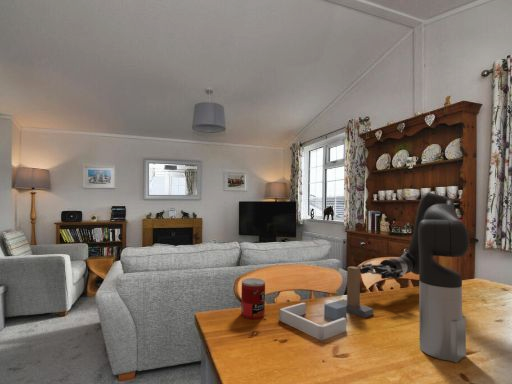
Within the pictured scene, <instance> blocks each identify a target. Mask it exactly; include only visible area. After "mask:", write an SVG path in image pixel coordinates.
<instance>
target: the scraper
mask: <svg viewBox="0 0 512 384" xmlns="http://www.w3.org/2000/svg"><path fill="white" fill-rule="evenodd" d="M360 268H361V267H357V266H347V268H346V270H347V275H346V277H347V278H346V282H347V283H346V284H347V285H346V286H347V287H346V291H347V293H346V295H347V297H346V299H340V300H336V301H335V302H336V303H339V304H342V305H345V306H347V312H346V313H350V314H353V315H354V316H355V315H356V316H357V317H361V318H364V319H366V318H369V317H370V316H371V317H372V316H373V315H374V308H372V307H369V306H366V305H362V304H361V303H360V302H361V296H360V295H361V291H360V290H361V278H360V277H361V273H360Z"/></svg>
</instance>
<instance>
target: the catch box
mask: <svg viewBox="0 0 512 384" xmlns="http://www.w3.org/2000/svg"><path fill="white" fill-rule="evenodd" d="M306 304H307V303H306V302H301V303H296V304H293V305H289V306H285V307H282V308H279V309H278V310H279V311H278V312H279V313H278V314H279V316H278V317H279V318H278V321H280V322H281V323H284V324H286V325H288V326H291V327H292V328H295V329H297V330H299V331H300V332H303V333H305V334H306V335H309V336H311V337H313V338H315V339H316V340H319V341H321V342H322V341H324V340H327V339H330V338H332V337H335V336H337V335H339V334H341V333H344V332H346V331H347V317H346V318H344V317H343V318H341V319H338V320H332V321H329V322H327V323H325V324H322V325H321V324H319V323H316V322H315V321H312V320H309V319H308V318H305V317H303V315H306V313H307V312H306V311H307V310H306V309H307V308H306Z"/></svg>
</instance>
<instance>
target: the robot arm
mask: <svg viewBox="0 0 512 384" xmlns="http://www.w3.org/2000/svg"><path fill="white" fill-rule="evenodd" d="M469 247H470V236H469V231H468V228H467V226H466V225H465V224H464V222H463V221H462V220H460V218H459V216H458V214H457V212H456V211H455V202H454V199H452V198H451V197H448V196H445V195H439V194H437V193H436V194H435V193H433V192H432V193H431V192H425V193H424V194H423V195H422V196H421V198H420V201H419V204H418V206H417V211H416V216H415V221H414V228H413V233H412V236H411V238H410V242H409V245H408V247H407V248H408V249H407V250H408V251H404V252H403V253H402V254H401V256H399V257H392V258H386V259H383V260H382V261H380V263H379V264H373V263H366V264H361V267H359V268H360V275H364V274H371V275H379V276H380V278H381V279H383V280H384V279H388V280H392V279H395V280H397V279H400V278H403V277H404V275H407V274H409V273H412V274H413V275H418V276H419V277H418V280H419V284H418V285H419V286H418V288H419V293H418V294H419V295H418V296H419V299H418V300H419V313H418V314H419V319H418V320H419V325H418V326H419V337H418V338H419V349H420V350H421V351H422V353H425V354H427V355H428V356H431V357H433V358H436V359H438V360H443V361H449V362H453V363H456V364H457V363H459V362H460V361H461V360H462V359H464V358H465V357H466V356H467V347H466V346H467V339H466V338H467V336H466V333H467V332H466V327H467V326H466V323H467V322H466V321H467V320H466V316H465V315H463V279H462V277H463V276H462V275H461V273H459V272H458V271H455V270H453V269H451V268H449V267H446V266H443V265H442V264H440V263H438V262H437V261H436V260H435V259H434V257H435V256H436V257H445V258H447V257H449V258H460V257H463V256H465V255H466V254H467V252H468V250H469Z"/></svg>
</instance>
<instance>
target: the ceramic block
mask: <svg viewBox="0 0 512 384" xmlns="http://www.w3.org/2000/svg"><path fill="white" fill-rule="evenodd" d="M323 305H324V308H323V309H324V310H323V311H324V312H323V313H324V316H325V318H328V319H330V320H332V321H335V320H338V319H341V318H343V317H344V318H346V319H347V313H348V312H347V306H345V305H342V304H339V303H336V301H332V302H328V303H326V304H323Z"/></svg>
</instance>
